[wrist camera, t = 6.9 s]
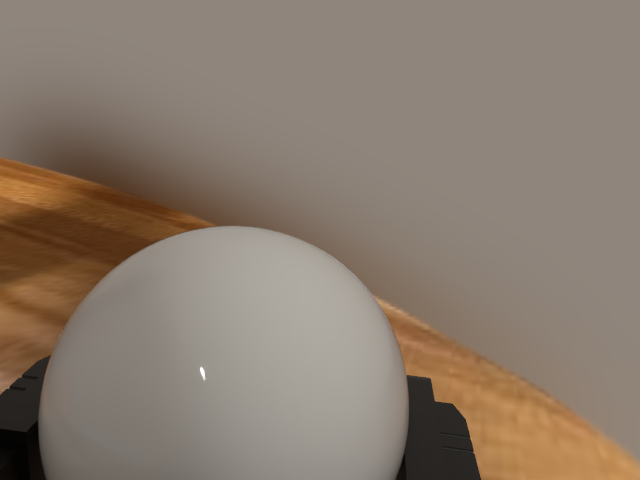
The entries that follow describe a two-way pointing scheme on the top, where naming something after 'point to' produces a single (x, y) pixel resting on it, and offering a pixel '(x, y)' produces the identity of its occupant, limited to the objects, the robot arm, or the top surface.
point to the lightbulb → (225, 368)
